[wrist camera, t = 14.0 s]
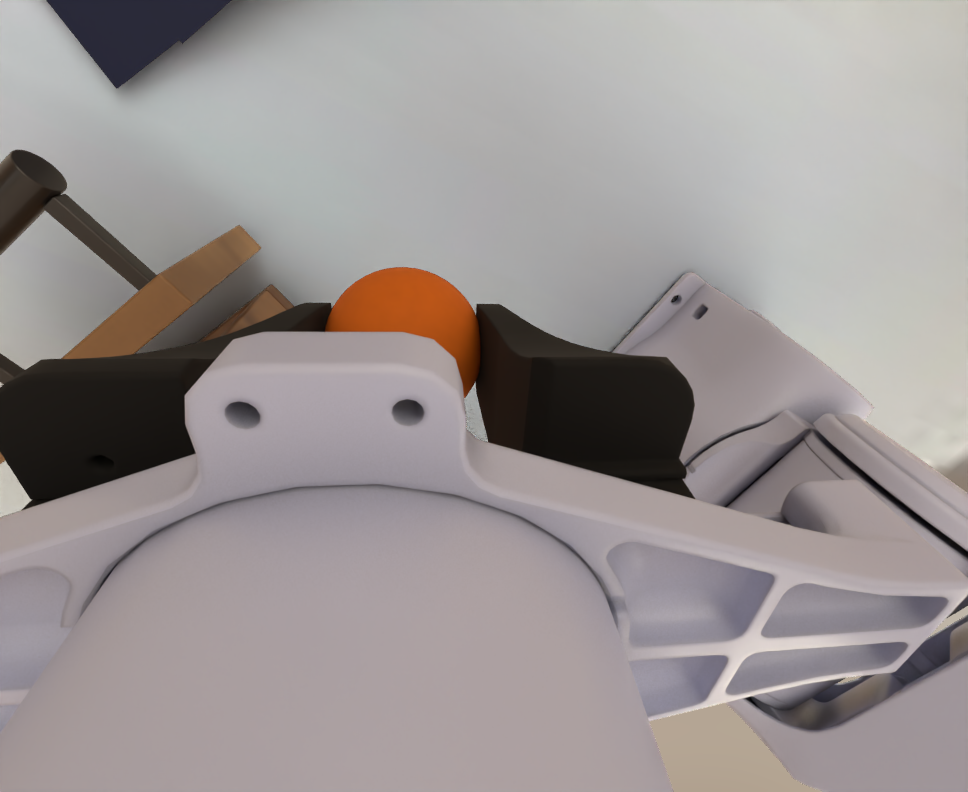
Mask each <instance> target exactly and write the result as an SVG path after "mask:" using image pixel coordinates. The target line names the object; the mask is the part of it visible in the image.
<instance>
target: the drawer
mask: <svg viewBox="0 0 968 792" xmlns="http://www.w3.org/2000/svg"><path fill="white" fill-rule="evenodd" d="M66 188H67V183H66V180H65V178H64V177H63V175H62V174H61V173H60V172H59V171H58V170H57V169H56V168H55V167H54V166H53V165H51V164H50V163H49V162H47V161H46V160H44V159H43V158H41V157H39V156H37V155H35V154H33V153H31V152H28V151H25V150H14V151H12V152H11V153H10V154H9V155H8V156H7V157H6V158H5V159H4V160H3V161H2V162H1V163H0V255H1V254H2V253H3V252H4V251H5V250H6V249H7V248H8V247H9V246H10V245H11V244H12V243H13V242H14V241H15V240H16V239H17V238H18V237H19V236H20V235H21V234H22V233H23V232H24V231H25V230H26V229H27V228H28V227H29V226H30V225H31V224H32V223H33V222H34V221H35V220H36V219H37V218H38V217H39V216H40V215H41V214H42V213H43V212H44V211H47V212H48V213H49V214H50V215H51V216H52V217H54V218H55V219H56V220H57V221H58V222H59V223H61V224H62V225H63V226H64V227H65V228H66V229H68V230H69V231H70V232H71V233H72V234H73V235H75V236H76V237H77V238H78V239H79V240H80V241H82V242H83V243H84V244H85V245H86V246H87V247H89V248H90V249H91V250H92V251H93V252H94V253H96V254H97V255H98V256H99V257H100V258H101V259H103V260H104V261H105V262H106V263H107V264H108V265H110V266H111V267H112V268H113V269H114V270H115V271H117V272H118V273H119V274H120V275H121V276H122V277H124V278H125V279H126V280H127V281H128V282H129V283H131V284H132V285H133V286H134V287H135V288H136V289H138V290H139V291H138V292H137V293H136V294H135V295H134V296H133V297H131V298H130V299H129V300H128V301H127V302H126V303H125V304H123V305H122V306H121V307H120V308H119V309H118V310H116V311H115V312H114V313H113V314H112V315H111V316H110V317H108V318H107V319H106V320H105V321H104V322H103V323H102V324H100V325H99V326H98V327H97V328H96V329H95V330H93V331H92V332H91V333H90V334H89V335H88V336H87V337H85V338H84V339H83V340H82V341H81V342H80V343H79V344H77V345H76V346H75V347H74V348H73V349H72V350H71V351H69V352H68V353H67V354H66V355H65V356H64V357H62V358H61V359H80V358H100V357H112V356H122V355H131V354H134V353H136V352H137V351H138V350H139V349H141V348H142V347H143V346H144V345H145V344H147V343H148V342H149V341H150V340H151V339H153V338H154V337H155V336H156V335H158V334H159V333H160V332H161V331H162V330H164V329H165V328H166V327H167V326H168V325H170V324H171V323H172V322H173V321H175V320H176V319H177V318H178V317H179V316H181V315H182V314H183V313H184V312H185V311H187V310H188V309H189V308H190V307H191V306H193V305H194V304H195V303H196V302H198V301H199V300H200V299H201V298H202V297H204V296H205V295H206V294H207V293H208V292H210V291H211V290H212V289H213V288H214V287H216V286H217V285H218V284H219V283H220V282H222V281H223V280H224V279H225V278H227V277H228V276H229V275H230V274H231V273H233V272H234V271H235V270H236V269H237V268H239V267H240V266H241V265H242V264H243V263H245V262H246V261H247V260H248V259H249V258H251V257H252V256H253V255H254V254H255V253H257V252H258V251H259V250H260V249H261V247H260V246H259V245H258V244H257V243H256V241H255V240H254V239H253V238H252V237H251V236H250V235H249V234H248V233H247V232H246V231H245V230H244V229H243V228H242V227H241V226H240V225H238V226H236V227H235V228H233V229H231V230H230V231H228V232H226V233H225V234H223V235H222V236H220V237H218V238H217V239H215V240H213V241H212V242H210V243H208V244H207V245H205V246H204V247H202V248H200V249H199V250H197V251H195V252H194V253H192V254H190V255H189V256H187V257H186V258H184V259H182V260H181V261H179V262H177V263H176V264H174V265H173V266H171V267H169V268H168V269H166V270H164V271H163V272H161V273H159V274H158V275H156V274H155V273H154V272H153V271H151V270H150V269H149V268H148V267H147V266H146V265H145V264H144V263H143V262H141V261H140V260H139V259H138V258H137V257H136V256H135V255H134V254H132V253H131V252H130V251H129V250H128V249H127V248H126V247H125V246H123V245H122V244H121V243H120V242H119V241H118V240H117V239H116V238H115V237H113V236H112V235H111V234H110V233H109V232H108V231H107V230H106V229H104V228H103V227H102V226H101V225H100V224H99V223H98V222H97V221H95V220H94V219H93V218H92V217H91V216H90V215H89V214H88V213H87V212H85V211H84V210H83V209H82V208H81V207H80V206H79V205H78V204H76V203H75V202H74V201H73V200H72V199H71V198H70V197H69V196H67V195H66V194H63V195H61V194H62V193H63V192H64V191H65V190H66ZM292 307H294V306H293V305H292V304H291V303H290V302H289V301H288V300H287V299H286V298H285V297H284V296H283V295H282V294H281V293H280V292H279V291H278V290H277V289H276V288H275V287H274V286H273V285H269V286H268V287H267V288H266V289H264V290H263V291H262V292H261V293H259V294H258V295H257V296H256V297H254V298H253V299H252V300H251V301H249V302H248V303H247V304H245V305H244V306H243V307H242V308H240V309H239V310H238V311H237V312H235V313H234V314H233V315H232V316H230V317H229V318H228V319H227V320H225V321H224V322H223V323H222V324H220V325H219V326H218V327H217V328H215V329H214V330H213V331H211V332H210V333H209V334H208V335H206V336H205V337H204V338H203V339H201V340H200V341H199V342H203V341H207V340H210V339H214V338H217V337H221V336H224V335H227V334H230V333H233V332H236V331H238V330H241V329H243V328H246V327H248V326H251V325H253V324H256V323H258V322H261V321H263V320H265V319H268V318H270V317H272V316H274V315H277V314H279V313H281V312H283V311H286V310H288V309H290V308H292ZM199 342H198V343H199ZM23 371H25V370H24V369H23V368H21V367H20V366H18V365H17V364H15V363H14V362H12V361H11V360H9V359H8V358H6V357H5V356H3V355H2V354H0V382H1V383H3V384H5V383H6V382H8V381H9V380H11V379H13V378H14V377H16V376H17V375H19V374H20V373H22V372H23ZM4 461H5V459H4V457H3V456H2V454H1V452H0V464H1V463H2V462H4Z"/></svg>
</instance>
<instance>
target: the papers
mask: <svg viewBox="0 0 968 792" xmlns="http://www.w3.org/2000/svg"><path fill="white" fill-rule="evenodd" d="M230 1H231V0H47V2H48V3H49V4H50V5H51V7H52V8H53V9H54V10H55V12H56V13H57V14H58V15H59V17H60V18H61V19H62V20H63V22H64V23H65V24H66V26H67V27H68V28H69V29H70V31H71V32H72V33H73V34H74V36H75V37H76V38H77V39H78V41H79V42H80V43H81V44H82V46H83V47H84V48H85V49H86V51H87V52H88V53H89V54H90V56H91V57H92V58H93V59H94V61H95V62H96V63H97V65H98V66H99V67H100V68H101V70H102V71H103V72H104V73H105V75H106V76H107V77H108V78H109V80H110V81H111V82H112V83H113V85H114V86H115V87H116V88H119V87H120V86H121V85H122V84H124V83H125V82H126V81H128V80H129V79H130V78H131V77H133V76H134V75H135V74H136V73H138V72H139V71H140V70H142V69H143V68H144V67H145V66H147V65H148V64H149V63H150V62H152V61H153V60H154V59H156V58H157V57H158V56H159V55H161V54H162V53H163V52H164V51H166V50H167V49H168V48H170V47H171V46H172V45H173V44H175V43H176V42H177V41H178V40H180V41H181V43H184V42H185V41H186V40H187V39H188V38H189V37H190V36H192V35H193V34H194V33H195V32H196V31H197V30H198V29H199V28H201V27H202V26H203V25H204V24H205V23H206V22H207V21H209V20H210V19H211V18H212V17H213V16H214V15H215V14H217V13H218V12H219V11H220V10H221V9H222V8H223V7H224V6H226V5H227V4H228V3H229V2H230Z"/></svg>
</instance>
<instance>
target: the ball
mask: <svg viewBox="0 0 968 792" xmlns="http://www.w3.org/2000/svg"><path fill="white" fill-rule="evenodd" d="M325 332H406V333H410V334H414V335H418V336H422V337H426V338H430V339H434V340H435V341H436V342H437V343H438V344H439V345H441V346H442V347H443V348H444V349H445V350H446V351H447V352H448V353H449V354H451V355H452V356H453V357H454V358H455V359H456V363H457V366H458V370H459V373H460V377H461V380H462V383H463V393H464V398H465V397H466V396H467V394H468V393H469V391H470V390H471V388H472V387H473V385H474V383H475V381H476V379H477V377H478V374H479V369H480V354H481V352H480V333H479V324H478V319H477V317H476V315H475V312H474V310H473V309H472V307H471V305H470V304H469V302H468V301H467V300H466V298H465V297H464V296H463V295H462V294H461V293H460V292H459V291H458V290H457V289H456V288H455V287H454V286H453V285H452V284H450V283H449V282H448V281H446V280H445V279H443V278H441V277H439V276H437V275H435V274H433V273H430V272H428V271H424V270H420V269H416V268H408V267H395V268H388V269H383V270H379V271H376V272H373V273H371V274H369V275H366V276H365V277H363V278H361V279H360V280H358V281H356V282H355V283H354V284H352V285H351V286H350V287H349V288H348V289H347V290H346V291H345V292H344V293H343V294H342V295H341V296H340V298H339V299H338V300H337V302H336V303H335V305H334V306H333V308H332V310H331V312H330V315H329V317H328V320H327V324H326V327H325Z"/></svg>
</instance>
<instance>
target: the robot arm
mask: <svg viewBox="0 0 968 792" xmlns="http://www.w3.org/2000/svg"><path fill="white" fill-rule="evenodd" d="M676 295H678V299H677V300H676V301H675V302H672V303H671V300H672V298H673V297H674V296H676ZM331 310H332V307H331V303H304V304H300V305H298V306H295V307H292V308H290V309H288V310H286V311H283V312H281V313H279V314H277V315H274V316H272V317H270V318H268V319H265V320H263V321H261V322H258V323H256V324H253V325H251V326H248V327H246V328H243V329H241V330H238V331H236V332H233V333H230V334H227V335H224V336H221V337H217V338H214V339H210V340H207V341H203V342H199V343H195V344H190V345H185V346H180V347H175V348H170V349H166V350H160V351H154V352H147V353H140V354H131V355H122V356H112V357H100V358H80V359H45V360H40V361H39V362H37V363H36V364H34V365H33V366H31V367H30V368H28V369H26V370H25V371H23V372H22V373H20V374H19V375H17V376H16V377H14V378H13V379H11V380H9V381H8V382H6V383H5V384H4V385H3V386H2V387H1V388H0V452H1V454H2V456H3V457H4V459H5V460H6V462H7V463H8V465H9V466H10V468H11V469H12V471H13V473H14V474H15V476H16V477H17V479H18V480H19V482H20V483H21V485H22V487H23V488H24V490H25V491H26V493H27V494H28V496H29V497H30V499H33V500H32V501H31V502H29V503H28V504H27V505H26V506H25V507H24V508H23V509H22V510H21V511H18V512H15V513H12V514H9V515H6V516H3V517H0V792H674V791H673V788H672V785H671V783H670V780H669V777H668V774H667V771H666V768H665V765H664V762H663V760H662V757H661V754H660V751H659V748H658V746H657V742H656V739H655V737H654V734H653V731H652V728H651V725H650V722H649V721H652V720H656V719H660V718H664V717H669V716H673V715H677V714H681V713H685V712H689V711H693V710H697V709H701V708H705V707H709V706H713V705H717V704H721V703H726V704H727V705H728V706H729V707H730V708H731V709H733V711H734V712H735V713H737V715H739V716H740V718H742V719H743V720H744V721H745V723H746V724H747V725H748V726H749V727H750V728H751V729H752V730H753V731H754V732H755V733H756V734H757V736H758V737H759V738H760V739H761V740H762V741H763V742H764V744H765V745H766V746H767V747H768V748H769V749H770V751H771V752H772V753H773V754H774V755H775V757H776V758H777V759H779V761H780V762H781V763H782V764H783V766H784V767H785V768H786V770H787V771H788V772H789V773H790V775H791V776H792V777H793V778H794V779H795V780H797V781H799V782H800V783H802V784H804V785H807V786H809V787H812V788H814V789H817V790H820V791H822V792H968V615H966V616H965V617H963V618H961V619H959V620H958V621H956V622H954V623H953V624H951V625H949V626H948V627H946V628H944V629H942V630H941V631H939V632H937V633H935V634H934V635H932V636H930V635H931V633H932V632H933V631H934V630H935V629H936V628H937V627H938V626H939V625H940V624H941V623H942V622H943V621H944V620H945V619H946V618H948V617H949V616H951V615H953V614H955V613H956V612H958V611H960V610H961V609H963V608H965V607H966V606H968V493H967V492H965V491H964V490H963V489H961V488H960V487H958V486H957V485H956V484H954V483H953V482H952V481H950V480H949V479H947V478H946V477H945V476H943V475H942V474H940V473H939V472H938V471H936V470H935V469H933V468H932V467H931V466H929V465H928V464H926V463H925V462H924V461H922V460H921V459H919V458H918V457H917V456H915V455H914V454H912V453H911V452H909V451H908V450H907V449H905V448H904V447H902V446H901V445H899V444H898V443H897V442H895V441H894V440H892V439H891V438H889V437H888V436H887V435H885V434H884V433H882V432H881V431H879V430H878V429H876V428H875V427H873V426H872V425H871V424H869V423H868V422H866V421H865V420H864V419H865V418H866V417H867V416H868V415H869V414H870V413H871V412H872V411H873V409H874V407H873V405H872V404H871V403H870V402H869V401H868V400H867V399H866V398H865V397H864V396H863V395H862V394H860V393H859V392H858V391H857V390H856V389H855V388H854V387H852V386H851V385H850V384H849V383H848V382H847V381H845V380H844V379H843V378H842V377H841V376H839V375H838V374H837V373H836V372H834V371H833V370H832V369H831V368H829V367H828V366H827V365H826V364H824V363H823V362H822V361H820V360H819V359H818V358H817V357H815V356H814V355H813V354H811V353H810V352H809V351H807V350H806V349H805V348H803V347H802V346H800V345H799V344H798V343H796V342H795V341H794V340H792V339H791V338H789V337H788V336H787V335H785V334H784V333H782V332H781V331H780V330H779V329H778V328H777V327H776V326H775V325H774V324H772V323H771V322H770V321H769V320H767V319H766V318H765V317H763V316H762V315H761V314H759V313H758V312H756V311H754V310H750V311H749V310H748V309H746V308H744V307H743V306H741V305H740V304H738V303H737V302H735V301H734V300H732V299H731V298H729V297H728V296H726V295H725V294H723V293H721V292H720V291H718V290H717V289H715V288H714V287H712V286H711V285H709V284H708V283H706V282H705V281H704V280H703V279H702V278H701V277H699V276H698V275H697V274H695V273H693V272H689V273H686V274H684V275H683V276H682V277H681V278H680V279H679V280H678V281H677V282H676V283H675V284H674V285H673V287H672V288H671V289H670V290H669V291H668V292H667V293H666V294H665V295H664V296H663V297H662V298H661V300H660V301H659V302H658V303H657V304H656V305H655V306H654V307H653V308H652V309H651V310H650V312H649V313H648V314H647V315H646V316H645V317H644V318H643V319H642V320H641V321H640V322H639V323H638V325H637V326H636V327H635V328H634V329H633V330H632V331H631V332H630V333H629V334H628V335H627V337H626V338H625V339H624V340H623V341H622V342H621V343H620V344H619V345H618V346H617V347H616V348H615V350H614V351H613V352H606V351H601V350H596V349H592V348H588V347H584V346H580V345H577V344H574V343H570V342H568V341H565V340H563V339H560V338H557V337H555V336H553V335H550V334H548V333H546V332H544V331H542V330H540V329H539V328H537V327H535V326H533V325H531V324H530V323H528V322H526V321H525V320H523V319H522V318H520V317H519V316H517V315H516V314H514V313H513V312H511V311H510V310H508V309H507V308H505V307H503V306H502V305H499V304H477V307H476V317H477V319H478V324H479V333H480V352H481V354H480V369H479V374H478V377H477V379H476V392H477V397H478V401H479V405H480V409H481V414H482V418H483V422H484V426H485V430H486V434H487V438H488V442H485V441H482V440H478V439H477V438H476V437H475V436H473V435H472V434H471V433H470V432H469V431H468V430H467V428H466V413H465V403H464V393H463V383H462V380H461V377H460V373H459V370H458V366H457V363H456V359H455V358H454V357H453V356H452V355H451V354H449V353H448V352H447V351H446V350H445V349H444V348H443V347H442V346H441V345H439V344H438V343H437V342H436V341H435V340H434V339H430V338H426V337H422V336H418V335H414V334H410V333H406V332H325V327H326V324H327V320H328V317H329V315H330V312H331ZM929 636H930V637H929ZM855 676H862V677H860V678H858V679H855V680H852V681H848V682H845V683H839V684H838V682H840V681H841V680H843V679H845V678H846V677H855Z"/></svg>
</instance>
